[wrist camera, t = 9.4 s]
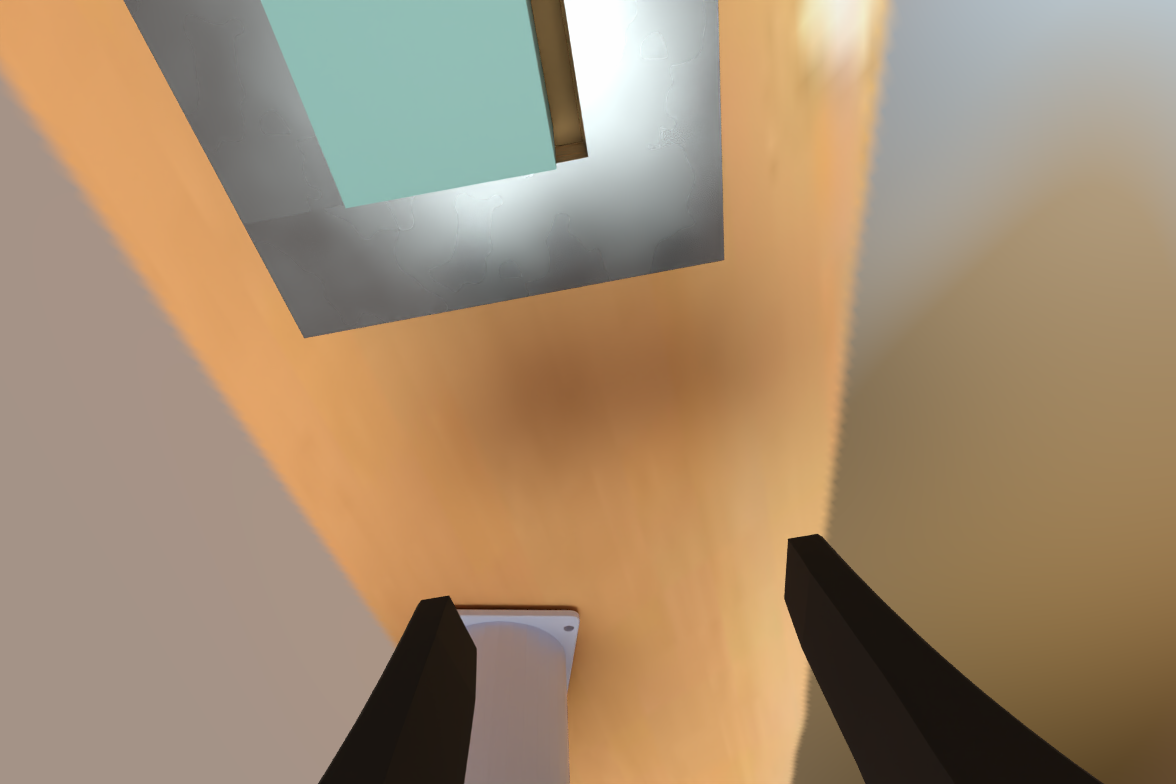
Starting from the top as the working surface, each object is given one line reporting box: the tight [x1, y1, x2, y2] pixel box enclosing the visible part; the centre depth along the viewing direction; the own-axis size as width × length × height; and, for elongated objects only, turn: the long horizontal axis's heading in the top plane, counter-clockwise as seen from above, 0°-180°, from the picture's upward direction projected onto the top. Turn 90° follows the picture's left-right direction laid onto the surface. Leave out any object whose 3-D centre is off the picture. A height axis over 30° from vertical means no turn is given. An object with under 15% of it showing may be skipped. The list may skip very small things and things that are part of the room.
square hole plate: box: [124, 0, 724, 338], centre depth 12 cm, size 12×12×2 cm
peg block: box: [261, 0, 556, 208], centre depth 11 cm, size 4×4×6 cm
